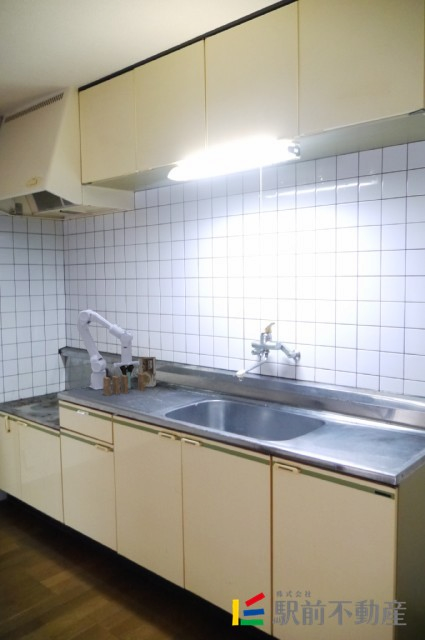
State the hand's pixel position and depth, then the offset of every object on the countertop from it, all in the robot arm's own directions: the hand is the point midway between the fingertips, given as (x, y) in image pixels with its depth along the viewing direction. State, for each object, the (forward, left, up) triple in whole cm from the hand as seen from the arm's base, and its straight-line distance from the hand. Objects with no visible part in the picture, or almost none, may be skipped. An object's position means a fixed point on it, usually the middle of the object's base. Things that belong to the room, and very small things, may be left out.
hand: (126, 378), depth 281 cm
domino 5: (+8, +5, -5) cm, 11 cm away
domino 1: (+8, -15, -5) cm, 18 cm away
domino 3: (+8, -5, -5) cm, 11 cm away
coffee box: (-1, +13, -6) cm, 14 cm away
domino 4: (0, 0, -5) cm, 5 cm away
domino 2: (+8, -10, -5) cm, 14 cm away
